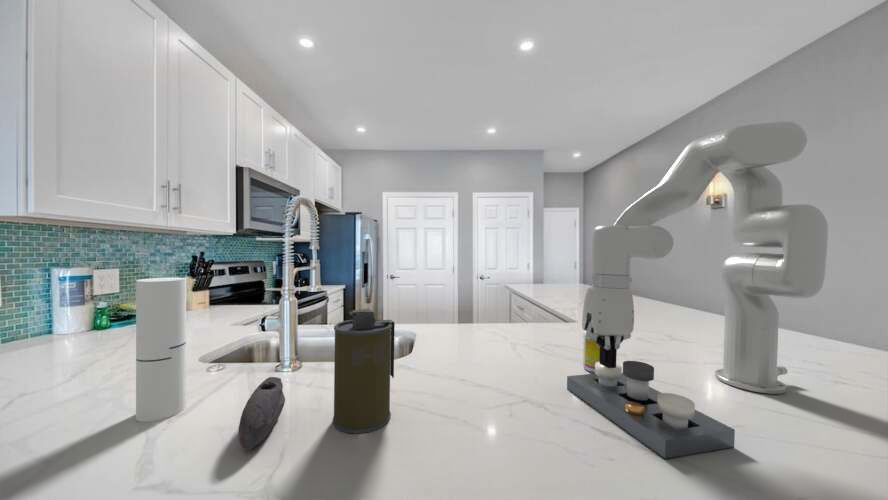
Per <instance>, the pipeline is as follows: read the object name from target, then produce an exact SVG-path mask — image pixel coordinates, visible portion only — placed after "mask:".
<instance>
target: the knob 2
mask: <svg viewBox="0 0 888 500" xmlns="http://www.w3.org/2000/svg"><path fill="white" fill-rule="evenodd" d="M695 404H696V403H695V402H694V401H693V400H691V399H690V398H688V397H685V396H684V395H680V394H676V393H671V392H670V393H669V392H661V393H660V394H658V400H657V408H658V410H660V411H661V412H662V413H663V417H662V421H663V422H665V423H667V424H668V425H670V426H672V427H673V428H675V429H677V430H678V429H685V428H688V419H693V418H694V412H695V410H696V407H695V406H696V405H695Z"/></svg>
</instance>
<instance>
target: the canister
mask: <svg viewBox="0 0 888 500" xmlns="http://www.w3.org/2000/svg"><path fill="white" fill-rule="evenodd" d="M348 315H349V316H350V317H352V319H348V320H343V321H340V322H338V323H336V324H335V325H334V326H333V330H334V331H333V332H334V367H333V368H334V374H333V375H334V377H333V378H334V381H333V385H334V386H333V387H334V388H333V389H334V390H333V417H332V424H333V425H334V427H335V428H336V430H338V431H340V432H343V433H347V434H366V433H369V432H374V431H376V430H378V429H380V428H382V427H384V426H385V425H386V424H387V423H388V422H389V421H390V419H391V417H392V414H391V410H390V407H391V406H390V405H391V401H390V400H391V396H390V395H391V377H392V379H395V378H394V377H395V328H396V327H395V326H396V325H395V322H394V321H393V320H392V319H379V318H375V313H374V311H372V310H371V309H369V308H364V309H355V310H354V309H353V310H351V311H349V312H348Z"/></svg>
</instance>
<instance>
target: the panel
mask: <svg viewBox="0 0 888 500" xmlns="http://www.w3.org/2000/svg"><path fill="white" fill-rule="evenodd" d="M566 389H567V390H568V391H569V392H570V393H571V394H573V395H575V396H576V397H577V398H579V399H580V400H581V401H583V402H584V403H585V404H587V405H588V406H590V407H591V408H592V407H593V408H592V409H594V410H595V409H596V410H595V411H596V412H598V413H599V412H600V413H599V414H601V415H602V414H603V415H602V416H604V417H605V416H606V417H607V418H606V417H605V418H606V419H608V420H609V419H610V420H611V421H610V420H609V421H610V422H612V423H613V422H614V423H613V424H615V425H616V426H617V427H619V428H620V429H621V430H623V431H624V432H626V433H628V434H629V435H630V436H631V437H633V438H634V439H635V440H637V441H638V442H640V444H642V445H644V446H645V447H647V448H648V449H650V451H652V452H654V454H656V455H658V456H659V457H660V458H662V459H663V460H665V461H666V460H671V459H677V458H682V457H688V456H695V455H698V454H706V453H711V452H718V451H723V450H729V449H735V438H736V437H735V434H736V430H735V429H734V428H733V427H731V426H729V425H727V424H725V423H722V422H720V421H719V420H717V419H714V418H713V417H710V416H709V415H707V414H705V413H704V412H701V411H699V410H696V409H695V412H694V418H693V419H688V428H685V429H678V430H677V429H675V428H673V427H672V426H670V425H668V424H667V423H665V422H663V421H662V417H663V413H662V412H661V411H660V410H658V408H657V400H658V394H660V393H662V392H661V391H659V390H657V389H655V388H653V387H651V386H649V390H648V400H637V399H633V398H631V397H629V396H628V395H627V377H626V376H625V375H624V374H623V372H622V375H621V379H618V380H617V387H607V388H606V387H604V386H603V385H601V384H599V376H597V375H596V374H595V373H589V374H577V375H576V374H575V375H567V376H566Z"/></svg>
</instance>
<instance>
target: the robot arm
mask: <svg viewBox="0 0 888 500" xmlns="http://www.w3.org/2000/svg"><path fill="white" fill-rule="evenodd" d="M807 140H808V138H807V133H806V132H805V129H804V128H803V127H802V126H801V125H799V124H798V123H795V122H792V121H783V120H782V121H776V122H775V121H774V122H767V123H766V122H763V123H754V124H744V125H737V126H734V127H730V128H727V129H723V130H720V131H717V132H714V133H711V134H708V135H705V136H702V137H698V138H696V139H695V140H693V141H691V142H690V143H688V145H687V146H686V147H684V149H683V150H682V152H681V153H680V155H678V157H677V159H675V162H674V163H672V165H671V166H670V168H669V170H668V171H667V172H666V174H665V175H664V176H663V178H662V179H661V180H660V182H659V183H658V184H657V185H656V186H655V187H653V188H652V189H651V190H649V191H648V192H646V193H645V194H644V195H643V196H641V197H640V198H639V199H637V200H636V201H635V202H634V203H632V204H631V205H630V206H628V207H627V208H625V210H624V211H623V212H622V213H621V215H620V216H619V217H618V218H617V219H616V221H615V223H614V224H612V225H610V224H608V225H607V224H606V225H598V226H596V227H594V229H593V230H592V240H591V241H592V242H591V244H592V245H591V246H592V248H591V275H590V276H591V278H590V283H591V285H590V287H587V290H586V293H585V296H584V302H583V309H582V317H581V320H582V321H581V324H582V325H581V328H582V330H583V331H587V332H586V339H589V340H591V341H595V342H596V343H597V345H598V346H599V347H600V356H599V360H600V361H599V362H600V364H601V365H603V366H605V367H607V368H616V364H617V351H618V350H619V349H620V348H621V344H622V342H624V341H625V340H629V339H631V337H632V333H633V332H634V327H635V306H634V297H633V291H632V289H631V287H630V285H631V283H633V278H632V277H631V262H632V261H631V260H641V261H642V260H643V261H655V260H660V259H662V258H664V257H666V256H668V255H669V254H670V253H671V251H672V250H673V247H674V238H673V236H672V234H671V233H670V231H669V230H667V229H666V228H664V227H662V226H658V225H654V224H656V223H658V222H659V221H661V220H665V219H666V218H668V217H671V216H673V215H676V214H679V213H681V212H683V211H685V210H687V209H690V207H692V206H694V205H695V204H696V203H698V201H699V200H700V198H701V197H702V195H703V194H704V193H705V191H706V190H707V188H708V186H709V185H710V184H711V183H712V181H713V180H714V178H715V177H716V175H717V174H718V173H721V174H722V175H723V176H724V177H725V178H726V179H727V181H728V182H729V183H730V184H731V187H732V189H733V208H732V209H733V210H732V223H731V234H732V235H731V236H732V238H733V241H734V242H735V244H737V245H739V246H742V247H747V248H763V249H764V248H765V249H766V248H770V249H771V248H773V249H775V248H776V249H777V248H778V249H783V253H769V252H768V253H765V252H743V253H741V252H740V253H736V254H732V255H730V256H729V257H727V258H726V259H725V260H724V261H723V263H722V264H721V266H720V277H721V281H722V282H721V283H722V285H723V286H722V287H723V293H724V328H723V329H724V332H723V335H724V337H723V360H722V361H723V363H722V364H723V367H722V368H719V369H716V370H715V371H714V376H715V378H716V379H717V380H719V381H721V383H724V384H727V385H729V386H732V387H734V388H735V387H736V388H738V389H742V390H746V391H750V392H755V393H760V394H768V395H780V394H784V393H786V391H787V387H786V384H784V383H783V382H782V381H780V380H778V377H779V376H781V375H782V376H785V375H787V374H788V373H789V372H788V369H787V368H786V367H785V366H783V365H782V366H779V365H778V352H779V351H778V349H779V347H778V345H779V340H778V339H779V323H780V322H779V321H780V316H779V311H778V308H777V306H776V304H775V301H773V299H772V298H771V297H770V296H776V297H783V298H792V299H810V298H811V297H814V296H816V295H817V294H819V292H820V291H821V290H822V287H823V285H824V282H825V278H826V275H825V274H826V268H827V267H826V266H827V265H826V264H827V251H828V240H829V237H828V236H829V233H828V232H829V227H828V222H827V218H826V216H825V214H824V213H823V212H822V211H821V210H820V209H819V208H818V207H816V206H814V205H810V204H803V203H798V204H796V203H795V204H788V205H787V204H786V205H783V185H782V182H781V180H780V179H779V178H778V177H777V175H776V174H775V173H773V172H772V171H771V170H770V169H768V167H767V166H772V165H777V164H782V163H787V162H790V161H792V160H793V161H794V159H796V158H798V157H799V156H800V155H801V154H802V153H803V152H804V150H805V148H806V146H807V142H808V141H807ZM595 334H596V335H595Z"/></svg>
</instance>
